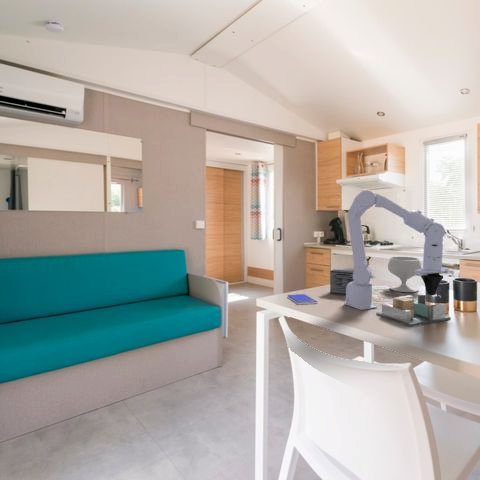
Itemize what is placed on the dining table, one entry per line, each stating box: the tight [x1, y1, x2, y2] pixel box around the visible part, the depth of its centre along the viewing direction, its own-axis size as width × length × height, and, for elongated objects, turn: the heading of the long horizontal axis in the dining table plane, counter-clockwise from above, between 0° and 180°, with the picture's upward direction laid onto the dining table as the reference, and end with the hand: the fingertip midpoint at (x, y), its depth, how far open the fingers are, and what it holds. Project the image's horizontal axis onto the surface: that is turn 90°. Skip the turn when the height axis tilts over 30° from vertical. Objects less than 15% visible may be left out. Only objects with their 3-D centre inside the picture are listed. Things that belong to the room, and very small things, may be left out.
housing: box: [392, 296, 415, 318], centre depth 111 cm, size 4×4×6 cm
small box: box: [329, 268, 354, 296], centre depth 147 cm, size 11×6×10 cm, turn 58°
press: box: [376, 294, 452, 328], centre depth 112 cm, size 14×18×5 cm
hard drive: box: [287, 293, 319, 306], centre depth 136 cm, size 2×8×12 cm
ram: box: [414, 294, 429, 317], centre depth 113 cm, size 10×4×6 cm, turn 22°
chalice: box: [387, 256, 422, 293], centre depth 152 cm, size 14×14×15 cm
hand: (430, 294), depth 116 cm, fingers closed
